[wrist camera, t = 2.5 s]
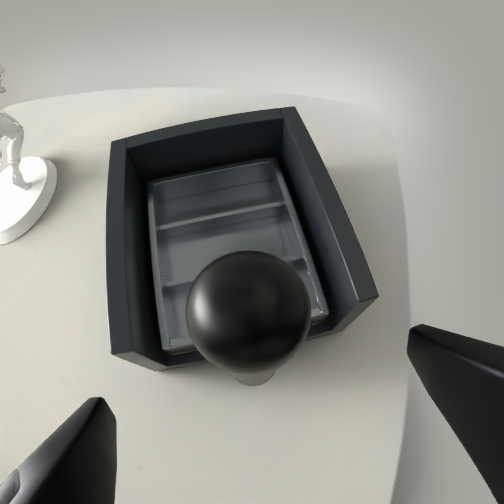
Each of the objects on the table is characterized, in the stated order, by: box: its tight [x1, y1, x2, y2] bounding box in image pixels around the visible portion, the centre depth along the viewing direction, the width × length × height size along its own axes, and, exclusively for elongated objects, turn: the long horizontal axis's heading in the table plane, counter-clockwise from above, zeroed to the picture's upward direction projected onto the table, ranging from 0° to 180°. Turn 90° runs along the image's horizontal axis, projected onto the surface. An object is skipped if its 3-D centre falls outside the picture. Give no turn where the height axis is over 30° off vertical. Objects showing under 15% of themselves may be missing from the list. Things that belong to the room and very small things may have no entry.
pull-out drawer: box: [147, 156, 329, 386], centre depth 13 cm, size 13×8×11 cm, turn 13°
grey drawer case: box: [105, 107, 379, 371], centre depth 17 cm, size 12×11×6 cm
